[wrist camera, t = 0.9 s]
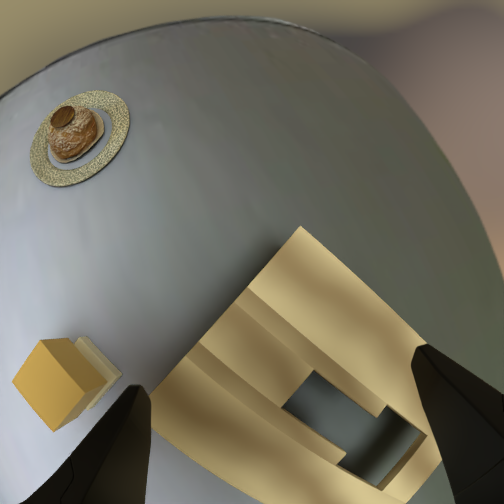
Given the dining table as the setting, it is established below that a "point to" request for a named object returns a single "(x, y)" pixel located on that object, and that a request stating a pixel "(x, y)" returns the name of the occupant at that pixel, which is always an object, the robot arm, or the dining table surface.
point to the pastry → (78, 136)
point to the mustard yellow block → (64, 379)
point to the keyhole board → (295, 384)
